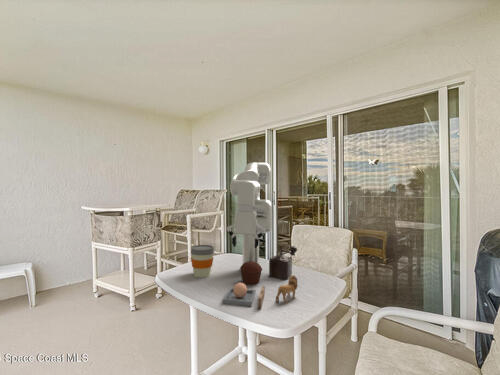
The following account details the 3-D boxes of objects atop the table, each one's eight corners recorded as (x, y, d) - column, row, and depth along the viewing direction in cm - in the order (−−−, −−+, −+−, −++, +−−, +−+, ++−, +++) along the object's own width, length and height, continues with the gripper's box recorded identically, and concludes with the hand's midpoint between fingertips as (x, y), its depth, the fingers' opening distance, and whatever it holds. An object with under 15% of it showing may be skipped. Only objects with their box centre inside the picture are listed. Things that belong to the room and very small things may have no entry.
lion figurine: (289, 292, 113) (290, 272, 113) (300, 295, 109) (300, 275, 109) (272, 303, 101) (272, 281, 101) (283, 307, 98) (284, 285, 98)
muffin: (235, 282, 122) (235, 263, 122) (246, 276, 132) (246, 257, 132) (256, 287, 117) (256, 267, 117) (265, 280, 126) (266, 261, 127)
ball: (234, 293, 108) (235, 280, 108) (248, 294, 107) (248, 281, 107) (231, 299, 102) (231, 285, 102) (245, 300, 101) (245, 286, 101)
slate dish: (230, 291, 112) (230, 287, 112) (255, 293, 110) (255, 289, 110) (223, 303, 100) (223, 299, 100) (251, 306, 98) (251, 301, 98)
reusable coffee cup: (211, 279, 126) (211, 250, 127) (187, 278, 127) (188, 249, 127) (215, 271, 139) (215, 245, 139) (193, 270, 139) (194, 244, 139)
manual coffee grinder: (267, 276, 132) (268, 243, 132) (275, 270, 142) (275, 240, 142) (295, 282, 125) (296, 247, 125) (301, 275, 135) (301, 243, 135)
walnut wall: (261, 294, 109) (262, 286, 109) (264, 295, 109) (264, 286, 109) (258, 308, 96) (258, 298, 96) (261, 309, 96) (261, 299, 96)
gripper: (266, 208, 109) (265, 246, 110) (229, 206, 112) (228, 243, 113) (264, 210, 102) (263, 250, 102) (224, 208, 105) (224, 247, 105)
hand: (245, 246), depth 107 cm, fingers open, 9 cm apart
